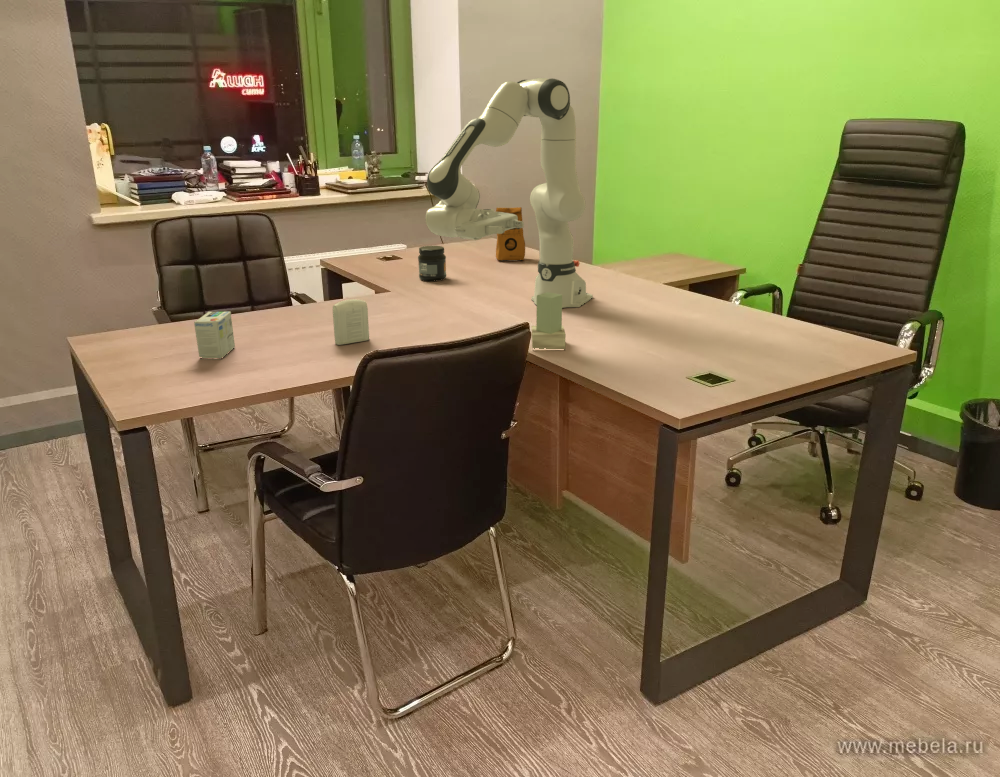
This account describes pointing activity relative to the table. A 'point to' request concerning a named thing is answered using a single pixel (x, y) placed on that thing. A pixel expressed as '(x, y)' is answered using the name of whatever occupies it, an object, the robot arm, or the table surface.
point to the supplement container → (432, 263)
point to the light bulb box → (214, 334)
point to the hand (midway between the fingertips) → (512, 227)
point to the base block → (548, 339)
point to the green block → (549, 313)
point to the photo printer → (350, 321)
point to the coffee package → (511, 239)
